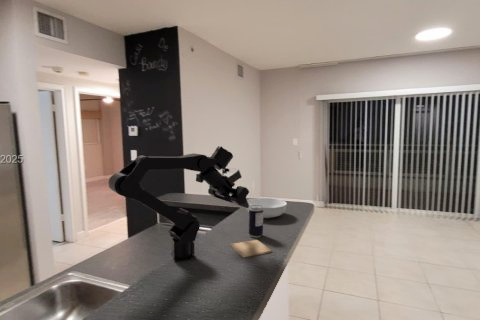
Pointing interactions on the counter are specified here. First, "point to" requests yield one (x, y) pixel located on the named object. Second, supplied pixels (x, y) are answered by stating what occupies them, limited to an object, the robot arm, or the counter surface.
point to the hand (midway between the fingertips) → (240, 204)
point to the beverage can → (256, 220)
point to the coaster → (250, 248)
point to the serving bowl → (269, 206)
